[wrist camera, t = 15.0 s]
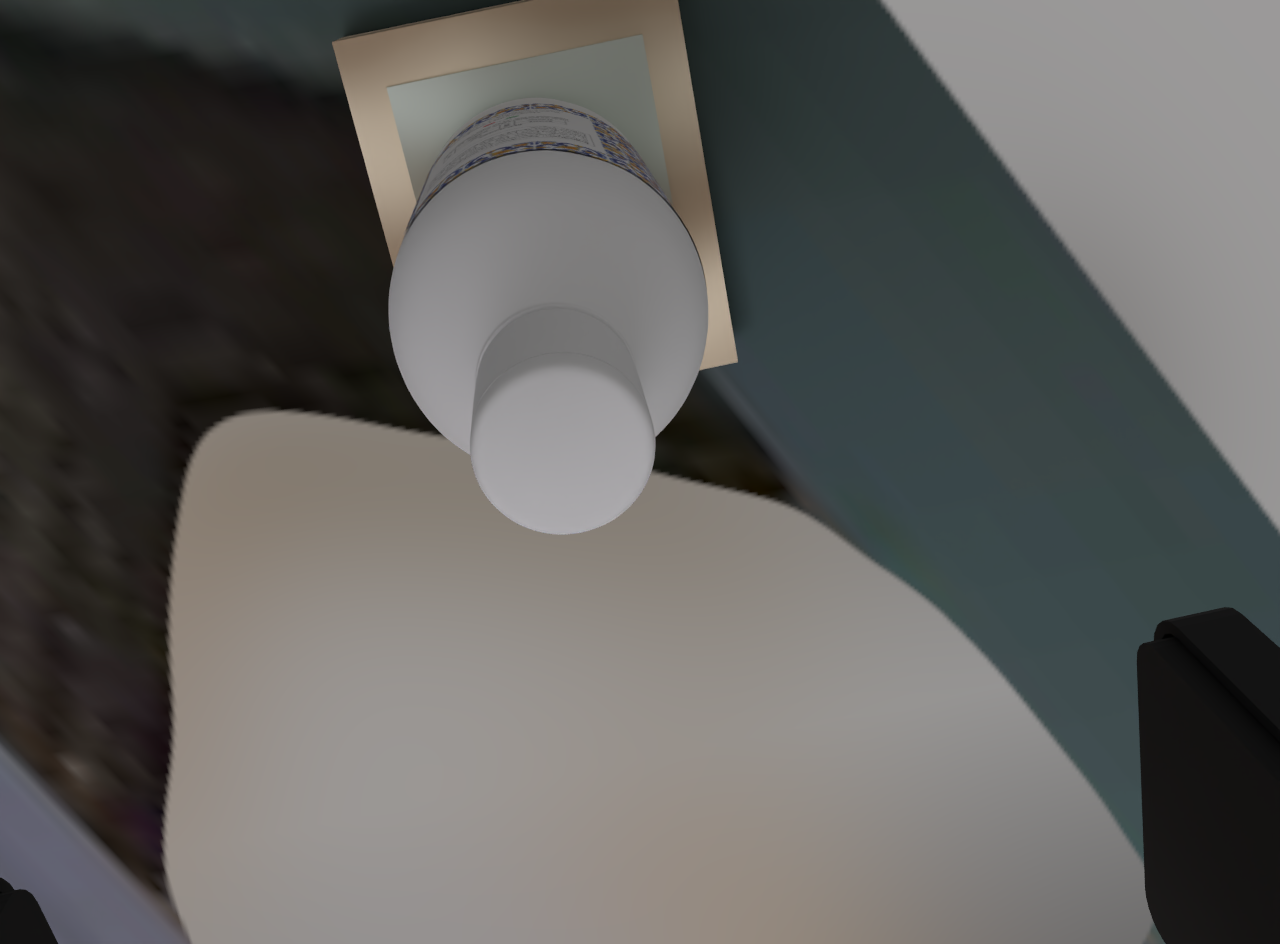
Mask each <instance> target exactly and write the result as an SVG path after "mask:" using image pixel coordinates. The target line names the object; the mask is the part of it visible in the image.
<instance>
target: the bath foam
mask: <svg viewBox="0 0 1280 944" xmlns="http://www.w3.org/2000/svg"><path fill="white" fill-rule="evenodd" d="M406 230H407V231H406ZM406 230H405V232H406V233H405V232H404V233H405V236H404V238H403V241H402V244H401V246H400V249H399V252H398V255H397V258H396V261H395V265H394V269H393V273H392V278H391V284H390V291H389V330H390V334H391V340H392V345H393V350H394V354H395V357H396V361H397V364H398V367H399V369H400V372H401V374H402V377H403V379H404V381H405V384H406V386H407V388H408V390H409V392H410V393H411V395H412V397H413V399H414V400H415V402H416V403H417V405H418V406H419V408H420V409H421V410H422V412H423V413H424V414H425V416H426V417H427V418H428V420H429V421H430V422H431V423H432V424H433V425H434V426H435V427H436V428H437V430H438V431H440V432H441V433H442V434H443V435H444V436H445V437H446V438H447V439H448V440H450V441H451V442H452V443H453V444H455V445H456V446H457V447H459V448H460V449H462V450H463V451H465V452H466V453H468V454H470V455H471V462H472V466H473V470H474V473H475V476H476V479H477V481H478V483H479V485H480V487H481V489H482V491H483V493H484V494H485V495H486V497H487V498H488V500H489V501H490V502H491V503H492V504H493V505H494V506H495V507H496V508H497V509H498V510H499V511H500V512H501V513H503V514H504V515H505V516H506V517H508V518H509V519H511V520H512V521H514V522H516V523H517V524H519V525H521V526H524V527H526V528H529V529H531V530H535V531H539V532H543V533H548V534H575V533H581V532H586V531H589V530H593V529H595V528H598V527H600V526H603V525H605V524H607V523H609V522H611V521H612V520H614V519H615V518H617V517H618V516H620V515H621V514H622V513H623V512H625V511H626V510H627V509H628V508H629V507H630V506H631V505H632V504H633V503H634V501H635V500H636V499H637V497H638V496H639V495H640V493H641V492H642V490H643V489H644V487H645V485H646V483H647V481H648V479H649V477H650V474H651V471H652V467H653V463H654V457H655V437H656V436H657V435H658V434H659V433H660V432H661V431H662V430H663V429H664V428H665V427H666V426H667V424H668V423H669V422H670V421H671V420H672V419H673V417H674V416H675V415H676V413H677V412H678V411H679V409H680V408H681V406H682V405H683V403H684V401H685V400H686V398H687V396H688V394H689V392H690V390H691V388H692V386H693V384H694V382H695V379H696V377H697V374H698V372H699V369H700V366H701V363H702V359H703V355H704V350H705V345H706V339H707V332H708V296H707V287H706V280H705V275H704V270H703V266H702V262H701V259H700V256H699V253H698V251H697V248H696V246H695V243H694V241H693V239H692V237H691V235H690V233H689V231H688V229H687V228H686V226H685V224H684V223H683V221H682V220H681V218H680V217H679V215H678V214H677V212H676V210H675V209H674V207H673V206H672V204H671V203H670V201H669V200H668V198H667V197H666V195H665V194H664V192H663V190H662V189H661V187H660V186H659V184H658V183H657V181H656V180H655V178H654V177H653V175H652V173H651V172H650V170H649V169H648V167H647V166H646V164H645V163H644V161H643V160H642V158H641V157H640V155H639V154H638V153H637V151H636V150H635V149H634V147H633V146H632V145H631V143H630V142H629V141H628V140H627V138H626V137H625V136H624V135H623V134H622V133H621V132H620V131H619V130H618V129H617V128H616V127H615V126H613V125H612V124H611V123H610V122H608V121H607V120H606V119H604V118H603V117H601V116H600V115H598V114H596V113H595V112H593V111H591V110H589V109H586V108H584V107H581V106H579V105H576V104H572V103H569V102H565V101H560V100H555V99H549V98H522V99H516V100H512V101H508V102H504V103H501V104H498V105H496V106H493V107H491V108H489V109H487V110H485V111H483V112H481V113H479V114H478V115H476V116H475V117H473V118H472V119H470V120H469V121H468V122H466V123H465V124H464V125H463V126H462V127H461V128H459V129H458V130H457V131H456V132H455V133H454V135H453V136H452V137H451V138H450V139H449V140H448V142H447V143H446V144H445V146H444V147H443V149H442V150H441V152H440V153H439V155H438V157H437V159H436V161H435V163H434V164H433V166H432V167H431V169H430V171H429V173H428V176H427V178H426V181H425V183H424V186H423V188H422V191H421V193H420V195H419V198H418V200H417V203H416V205H415V208H414V210H413V212H412V215H411V217H410V220H409V222H408V225H407V227H406ZM403 235H404V234H403Z"/></svg>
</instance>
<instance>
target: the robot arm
mask: <svg viewBox="0 0 1280 944" xmlns="http://www.w3.org/2000/svg"><path fill="white" fill-rule="evenodd" d="M1137 678H1138V706H1139V733H1140V761H1141V788H1142V816H1143V843H1144V870H1145V891H1146V898H1147V902H1148V907H1149V910H1150V913H1151V915H1152V919H1153V921H1154V923H1155V926H1156V928H1157V930H1158V932H1159V933H1160V935H1161V937H1162V939H1163V940H1164V942H1165V943H1166V944H1280V648H1279V647H1278V646H1277V645H1276V644H1275V643H1274V642H1272V641H1271V640H1270V639H1269V638H1268V637H1267V636H1266V635H1265V634H1264V633H1262V632H1261V631H1260V630H1259V629H1258V628H1257V627H1256V626H1255V625H1253V624H1252V623H1251V622H1250V621H1249V620H1248V619H1247V618H1246V617H1245V616H1243V615H1242V614H1241V613H1240V612H1238V611H1236V610H1235V609H1233V608H1227V607H1224V608H1219V609H1215V610H1210V611H1206V612H1201V613H1197V614H1192V615H1187V616H1183V617H1178V618H1174V619H1169V620H1165V621H1162V622H1161V623H1159V624H1158V625H1157V628H1156V631H1155V633H1154V641H1151V642H1147V643H1143V644H1142V645H1140V646H1139V649H1138V652H1137ZM0 944H58V942H57V940H56V938H55V936H54V934H53V932H52V930H51V928H50V926H49V924H48V922H47V920H46V918H45V916H44V914H43V912H42V910H41V908H40V906H39V904H38V902H37V901H36V899H35V898H34V896H33V895H32V894H31V893H30V892H28V891H27V890H21V889H19V890H14V889H13V887H12V886H11V885H10V883H8V882H7V881H5V880H4V879H3V878H0Z"/></svg>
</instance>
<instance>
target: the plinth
mask: <svg viewBox="0 0 1280 944" xmlns="http://www.w3.org/2000/svg"><path fill="white" fill-rule="evenodd" d="M332 44H333V48H334V52H335V55H336V59H337V63H338V66H339V70H340V73H341V77H342V81H343V84H344V88H345V92H346V95H347V99H348V103H349V106H350V110H351V114H352V117H353V121H354V125H355V128H356V132H357V135H358V139H359V143H360V146H361V150H362V154H363V157H364V161H365V165H366V168H367V172H368V176H369V179H370V183H371V187H372V190H373V194H374V197H375V201H376V205H377V208H378V212H379V216H380V219H381V223H382V227H383V230H384V234H385V238H386V241H387V245H388V249H389V252H390V256H391V259H392V263H393V267H394V265H395V261H396V258H397V255H398V252H399V249H400V246H401V244H402V241H403V238H404V236H405V233H406V232H405V230H406V227H407V225H408V222H409V220H410V217H411V215H412V212H413V210H414V208H415V205H416V203H417V200H418V198H419V195H420V193H421V191H422V188H423V186H424V183H425V181H426V178H427V176H428V173H429V171H430V169H431V167H432V166H433V164H434V163H435V161H436V159H437V157H438V155H439V153H440V152H441V150H442V149H443V147H444V146H445V144H446V143H447V142H448V140H449V139H450V138H451V137H452V136H453V135H454V133H455V132H456V131H457V130H458V129H459V128H461V127H462V126H463V125H464V124H465V123H466V122H468V121H469V120H470V119H472V118H473V117H475V116H476V115H478V114H479V113H481V112H483V111H485V110H487V109H489V108H491V107H493V106H496V105H498V104H501V103H504V102H508V101H512V100H516V99H522V98H549V99H555V100H560V101H565V102H569V103H572V104H576V105H579V106H581V107H584V108H586V109H589V110H591V111H593V112H595V113H596V114H598V115H600V116H601V117H603V118H604V119H606V120H607V121H608V122H610V123H611V124H612V125H613V126H615V127H616V128H617V129H618V130H619V131H620V132H621V133H622V134H623V135H624V136H625V137H626V138H627V140H628V141H629V142H630V143H631V145H632V146H633V147H634V149H635V150H636V151H637V153H638V154H639V155H640V157H641V158H642V160H643V161H644V163H645V164H646V166H647V167H648V169H649V170H650V172H651V173H652V175H653V177H654V178H655V180H656V181H657V183H658V184H659V186H660V187H661V189H662V190H663V192H664V194H665V195H666V197H667V198H668V200H669V201H670V203H671V204H672V206H673V207H674V209H675V210H676V212H677V214H678V215H679V217H680V218H681V220H682V221H683V223H684V224H685V226H686V228H687V229H688V231H689V233H690V235H691V237H692V239H693V241H694V243H695V246H696V248H697V251H698V253H699V256H700V259H701V262H702V266H703V270H704V275H705V280H706V287H707V296H708V332H707V339H706V345H705V350H704V355H703V359H702V363H701V366H700V369H699V370H702V369H707V368H712V367H716V366H721V365H726V364H730V363H735V362H738V360H737V354H736V348H735V342H734V336H733V330H732V324H731V318H730V312H729V306H728V299H727V293H726V287H725V281H724V275H723V269H722V263H721V257H720V251H719V245H718V239H717V233H716V227H715V221H714V215H713V209H712V203H711V197H710V191H709V185H708V179H707V173H706V167H705V161H704V155H703V149H702V143H701V137H700V131H699V125H698V119H697V113H696V107H695V101H694V95H693V89H692V83H691V76H690V70H689V64H688V58H687V52H686V46H685V40H684V34H683V28H682V22H681V16H680V10H679V4H678V0H521V1H516V2H511V3H506V4H502V5H497V6H492V7H487V8H482V9H477V10H473V11H468V12H463V13H458V14H453V15H449V16H444V17H439V18H434V19H429V20H424V21H420V22H415V23H410V24H405V25H400V26H395V27H391V28H386V29H381V30H376V31H371V32H367V33H362V34H357V35H352V36H347V37H343V38H340V39H338V40H336V41H333V42H332ZM406 231H407V230H406ZM404 232H405V233H404ZM403 234H404V235H403Z"/></svg>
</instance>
